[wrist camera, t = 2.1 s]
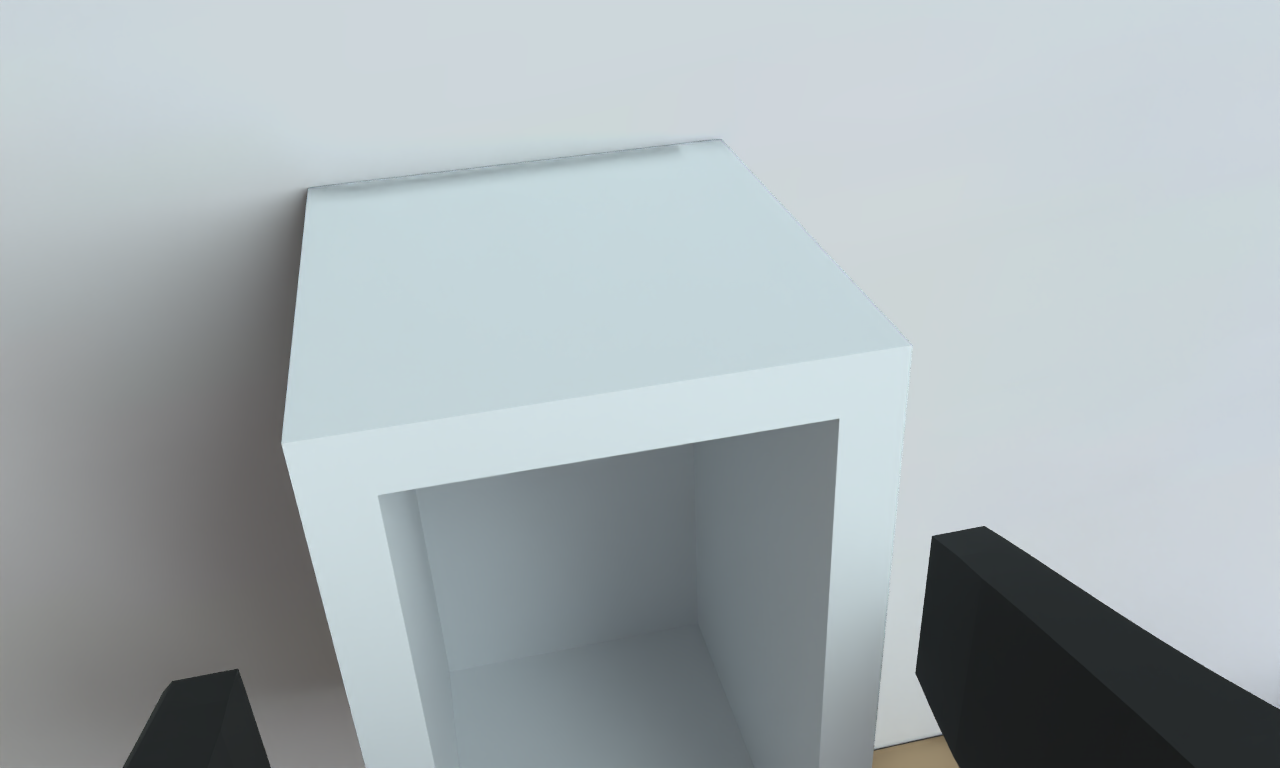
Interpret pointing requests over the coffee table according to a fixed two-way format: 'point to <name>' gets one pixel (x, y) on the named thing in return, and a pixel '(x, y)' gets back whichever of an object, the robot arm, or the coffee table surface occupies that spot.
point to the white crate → (595, 466)
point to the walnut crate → (916, 755)
